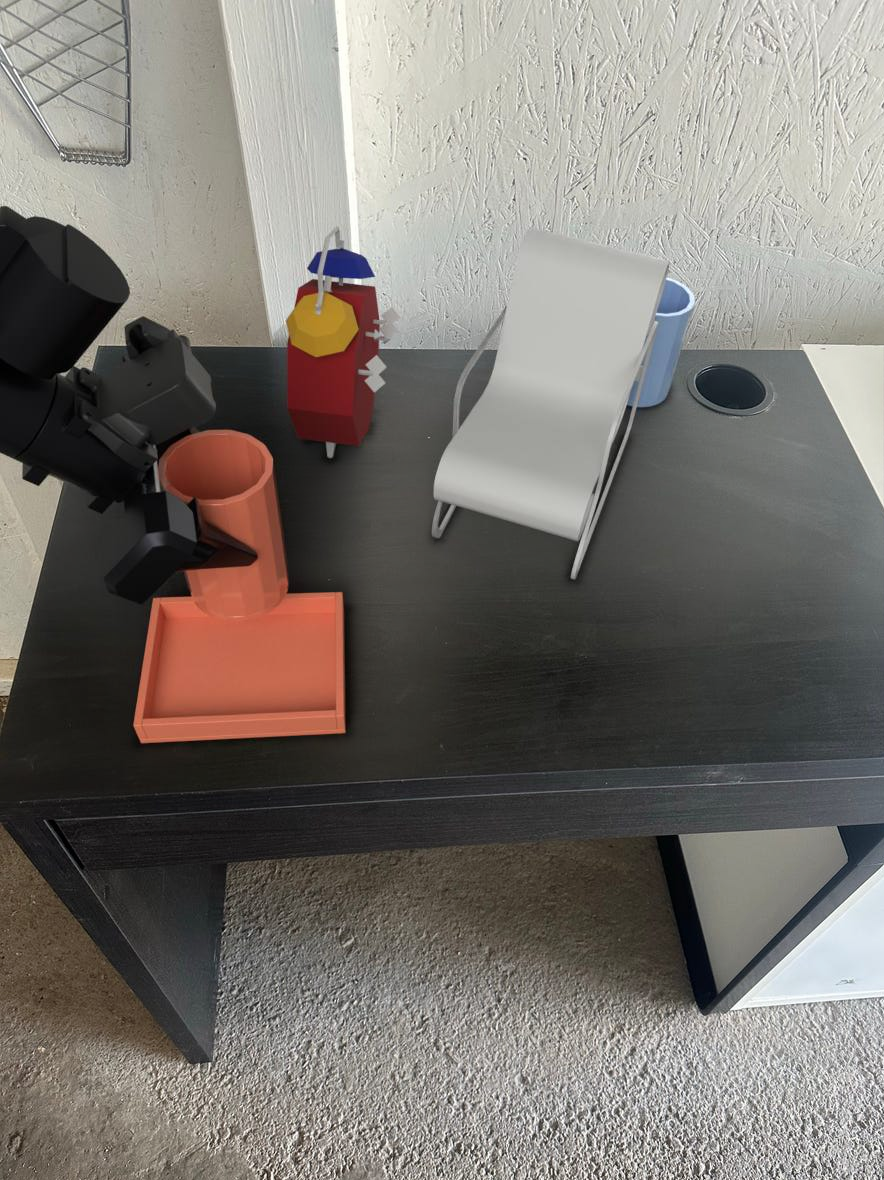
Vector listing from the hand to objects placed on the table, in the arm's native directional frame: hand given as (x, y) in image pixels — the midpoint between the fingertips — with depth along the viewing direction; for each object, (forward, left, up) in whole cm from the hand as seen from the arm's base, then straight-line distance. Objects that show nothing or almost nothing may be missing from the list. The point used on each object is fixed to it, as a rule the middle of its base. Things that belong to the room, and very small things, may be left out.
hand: (246, 520), depth 63 cm
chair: (+30, -1, -13) cm, 33 cm away
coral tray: (-3, -2, -13) cm, 14 cm away
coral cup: (-1, +1, -7) cm, 7 cm away
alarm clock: (+21, +17, -13) cm, 30 cm away
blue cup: (+50, +4, -13) cm, 52 cm away
